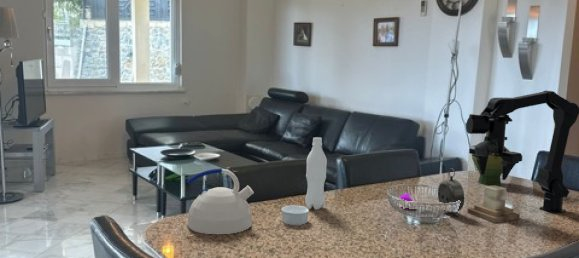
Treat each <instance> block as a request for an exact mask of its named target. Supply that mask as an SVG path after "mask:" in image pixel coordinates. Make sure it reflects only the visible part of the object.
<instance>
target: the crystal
mask: <svg viewBox="0 0 579 258" xmlns="http://www.w3.org/2000/svg"><path fill="white" fill-rule="evenodd" d="M398 198H401V199H404V200H407V201H414V200H413V198H412V197H411V195H410V193H409V192H407V193H405V194H402V195H400V196H399V197H398Z"/></svg>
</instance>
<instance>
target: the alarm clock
mask: <svg viewBox="0 0 579 258" xmlns="http://www.w3.org/2000/svg"><path fill="white" fill-rule="evenodd" d="M451 170H452V171H453V176H452V175H450V174H451V173H450V172H451ZM455 174H456V171H455V168H452V167H451V168H449V170H448V176H449V179H447V180H446V179H445V180H442V181H441V182H440V183H439V185H438V188H437V199H438V202H443V203H449V202H456V201H458V200H460V201H461V203H460V206H459V209H458V211H457V212H456V213H455V215H456V217H457V218H459V213H458V212H459V211H461V210H462V209H463V206H464V205H465V191H464V188H463V186H462V184H461V183H460V182H459V181H458V180H457V179H453V178H454V177H455V176H456V175H455Z"/></svg>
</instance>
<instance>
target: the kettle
mask: <svg viewBox="0 0 579 258" xmlns="http://www.w3.org/2000/svg"><path fill="white" fill-rule="evenodd" d="M213 174H226V175H228V176H229V177H230V178H231V179H232V182H233V188H232V189H231V188H228V187H224V186H223V187H222V186H220V187H219V186H216V187H213V188H209V189H207V188H205V189H202V190H200V192H199V195H198V196H197V197H196V198H195V199H194V201H193V202H192V203H191V205H190V208H189V210H188V219H187V223H186V224H187V227H188V229H190V230H192V231H194V232H195V233H200V234H203V233H204V234H203V235H209V234H217V235H216V236H219V235H218V234H227V235H232V234H231V233H235V234H238V233H237V232H239V233H241V231H242V232H244V230H245V231H247V230H249V229H250V228H249V227H252V225H253V223H252V222H253V221H252V213H251V212H252V211H251V208H250V206H249V203H248V201H247V200H248V198H250V197H251V196H252V195H254V193H255V192H254V190H253V189H252V188H251V187H250V186H249V185H246V187H244V188H242V190H240V182H239V178H238V177H237V176H236V174H235V173H234V172H233V171H231V170H230V169H225V168H214V169H208V170H205V171H202V172H199V173H197V174H194V175H193V176H192V177H189V179H188V180H187V181H186V182H187V183H188V184H193V183H194V182H195V181H197V180H198V179H201V178H202V177H205V176H208V175H213ZM246 229H247V230H246Z"/></svg>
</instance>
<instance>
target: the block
mask: <svg viewBox="0 0 579 258" xmlns="http://www.w3.org/2000/svg"><path fill="white" fill-rule="evenodd" d="M506 196H507V188H505V187H501V186H500V185H498V186H495V185H494V186H490V185H485V186H484V189H483V200H482V201H483V203H482V204H483V206H484V207H487V208H490V209H493V210H498V209H505V207H506Z"/></svg>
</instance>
